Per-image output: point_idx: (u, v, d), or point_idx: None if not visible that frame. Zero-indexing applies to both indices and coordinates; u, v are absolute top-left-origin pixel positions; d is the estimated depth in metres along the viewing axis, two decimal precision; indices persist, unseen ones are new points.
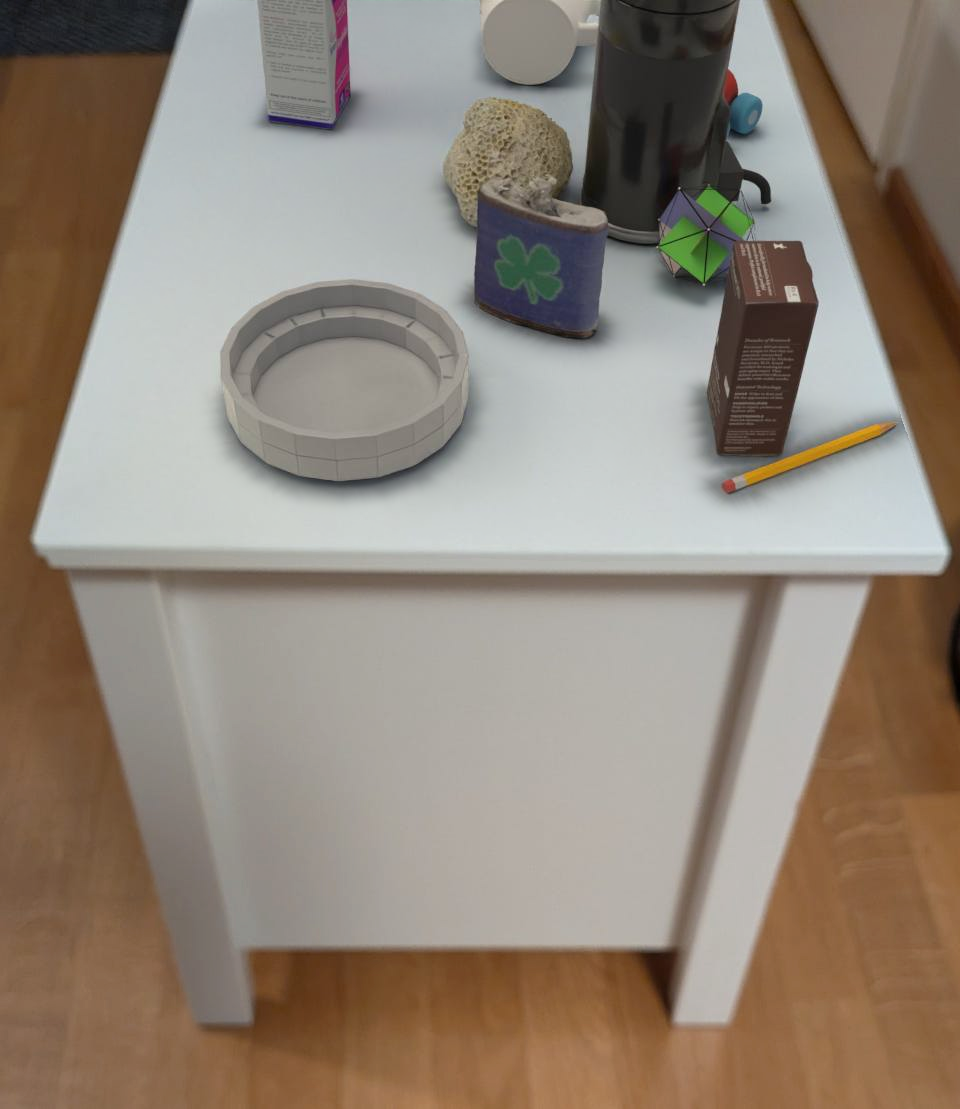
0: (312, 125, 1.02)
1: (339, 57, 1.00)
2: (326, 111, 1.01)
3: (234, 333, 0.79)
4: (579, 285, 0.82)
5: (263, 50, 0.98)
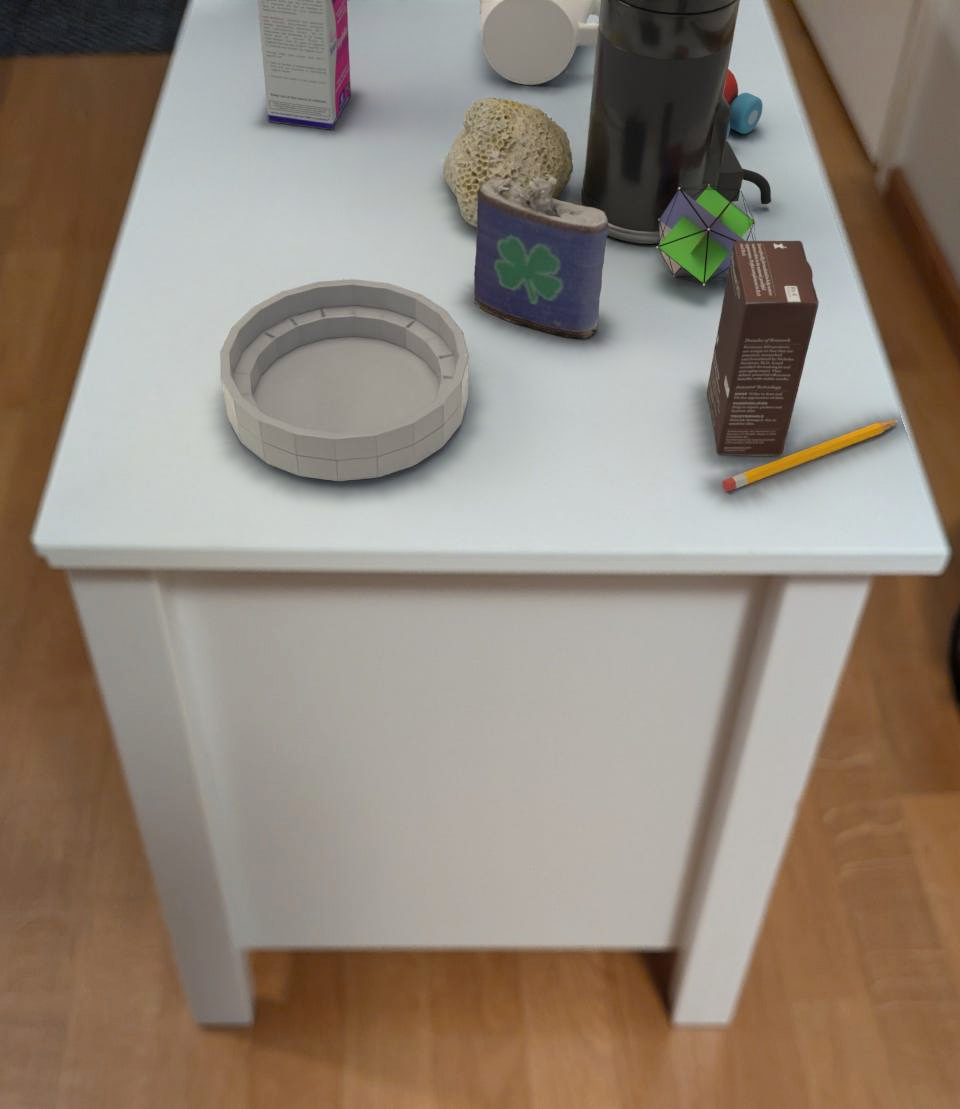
0: (312, 125, 1.02)
1: (339, 57, 1.00)
2: (326, 111, 1.01)
3: (234, 333, 0.79)
4: (579, 285, 0.82)
5: (263, 50, 0.98)
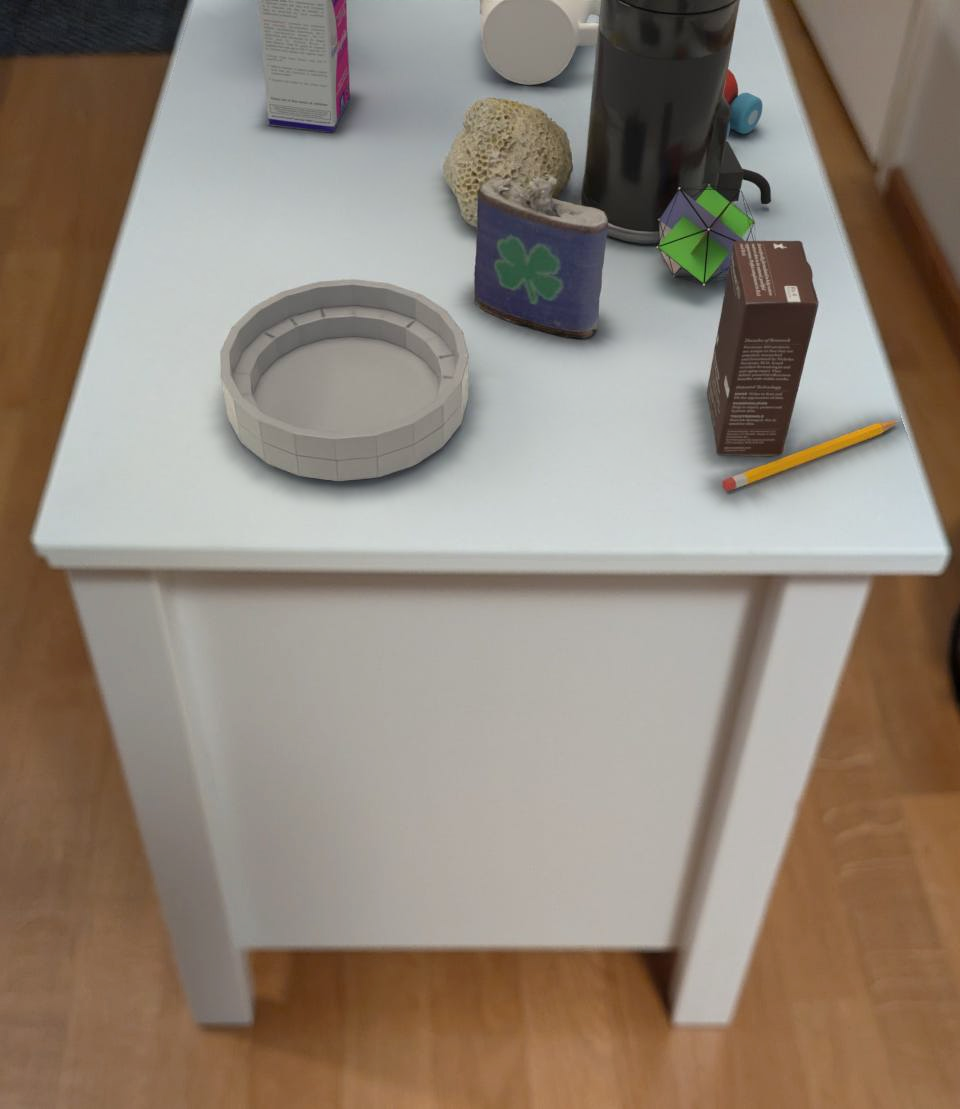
0: (313, 128, 1.02)
1: (339, 60, 1.00)
2: (327, 115, 1.01)
3: (234, 333, 0.79)
4: (579, 285, 0.82)
5: (263, 54, 0.98)
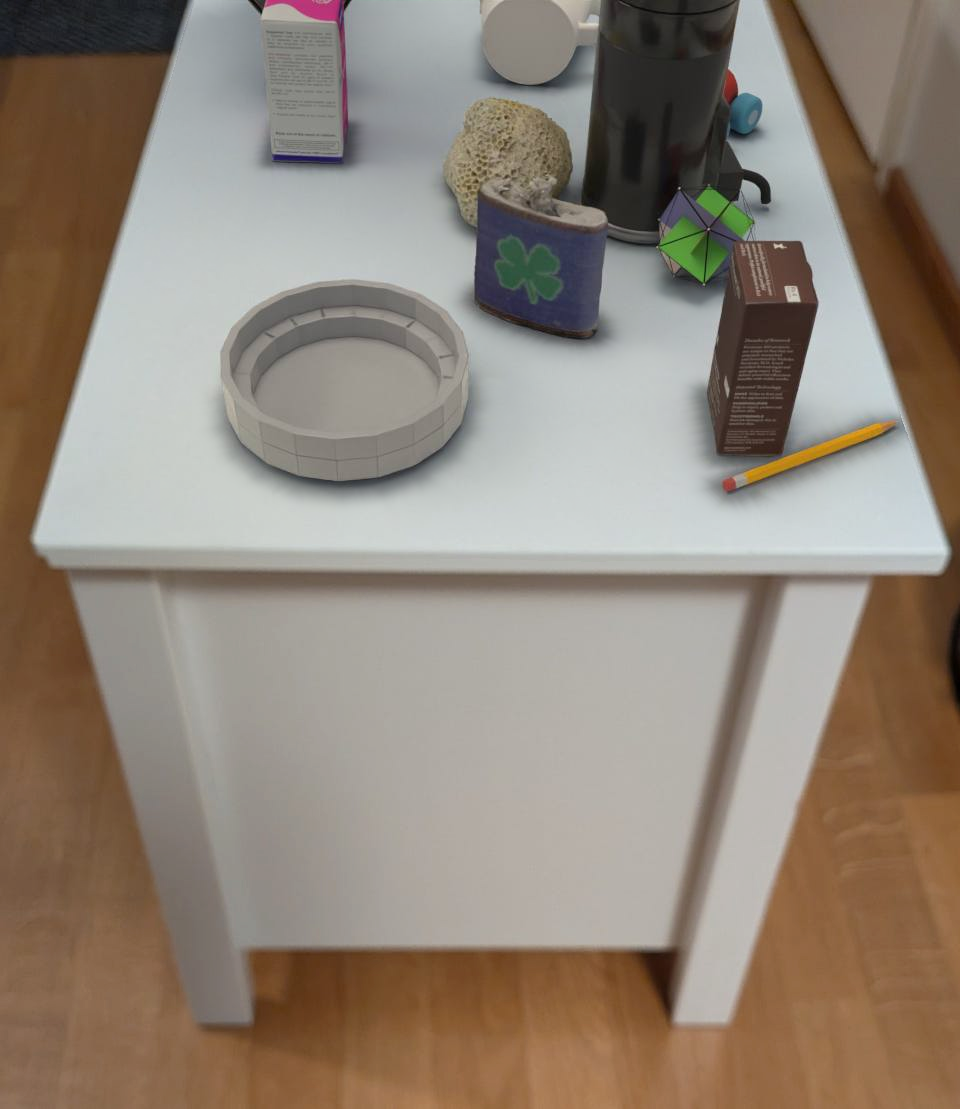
0: (320, 160, 0.99)
1: (343, 88, 0.97)
2: (335, 145, 0.98)
3: (234, 333, 0.79)
4: (579, 285, 0.82)
5: (268, 88, 0.95)
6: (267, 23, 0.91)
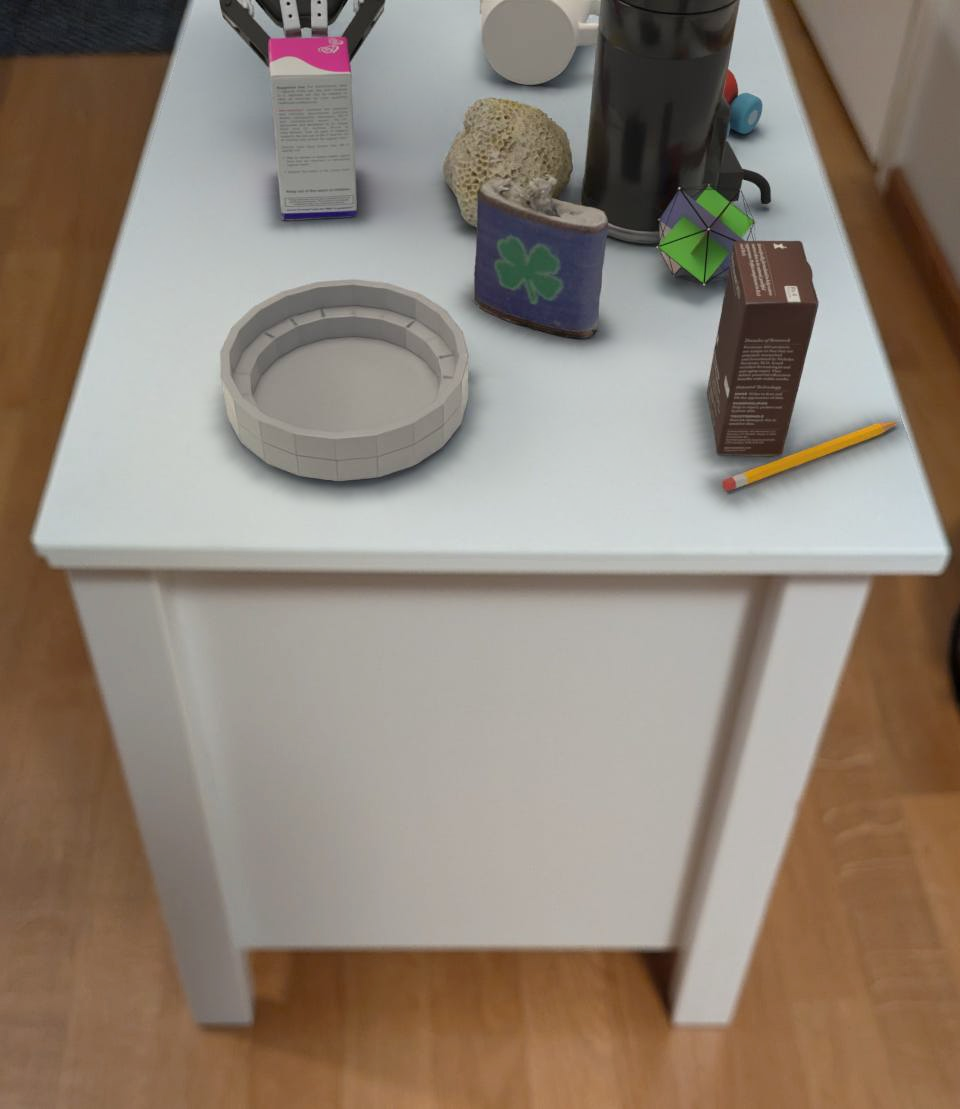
0: (333, 216, 0.94)
1: None
2: (349, 199, 0.93)
3: (234, 333, 0.79)
4: (579, 285, 0.82)
5: (278, 146, 0.89)
6: (278, 79, 0.85)
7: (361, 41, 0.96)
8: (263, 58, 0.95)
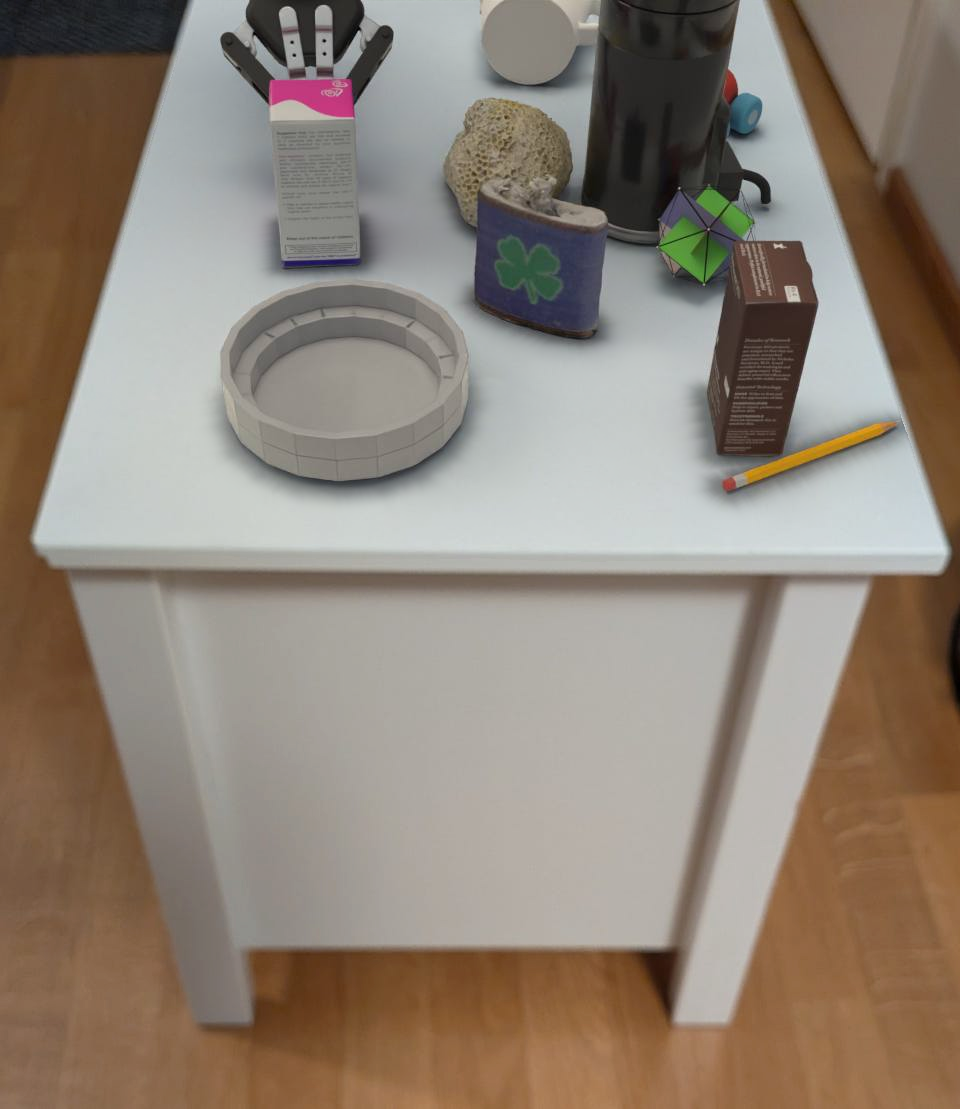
0: (336, 263, 0.90)
1: None
2: (353, 246, 0.89)
3: (234, 333, 0.79)
4: (579, 285, 0.82)
5: (278, 193, 0.85)
6: (278, 124, 0.82)
7: (368, 80, 0.92)
8: (266, 98, 0.91)
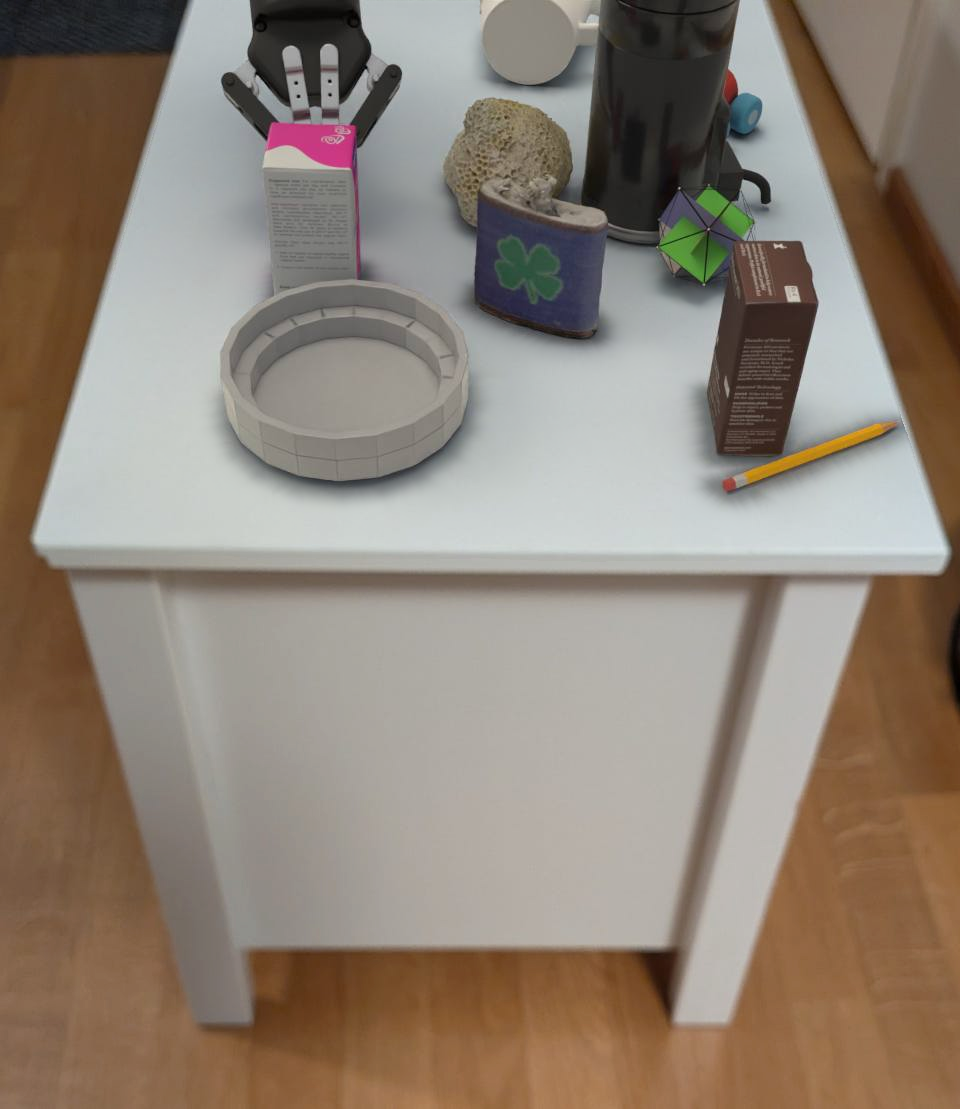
0: None
1: (357, 234, 0.84)
2: None
3: (234, 333, 0.79)
4: (579, 285, 0.82)
5: (271, 240, 0.82)
6: (270, 171, 0.78)
7: (375, 121, 0.88)
8: None
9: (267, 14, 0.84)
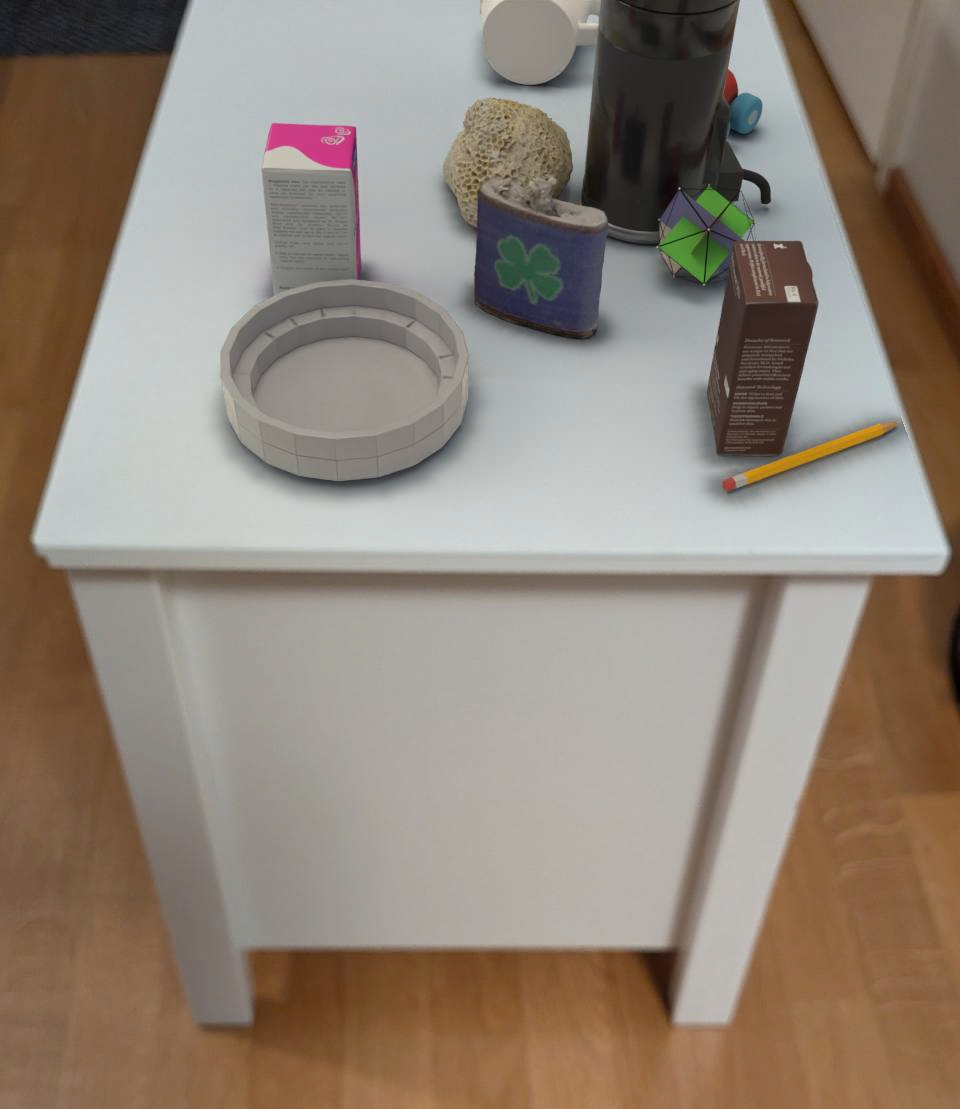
0: None
1: (357, 235, 0.84)
2: None
3: (234, 333, 0.79)
4: (579, 285, 0.82)
5: (270, 241, 0.82)
6: (269, 172, 0.78)
7: None
8: None
9: None
